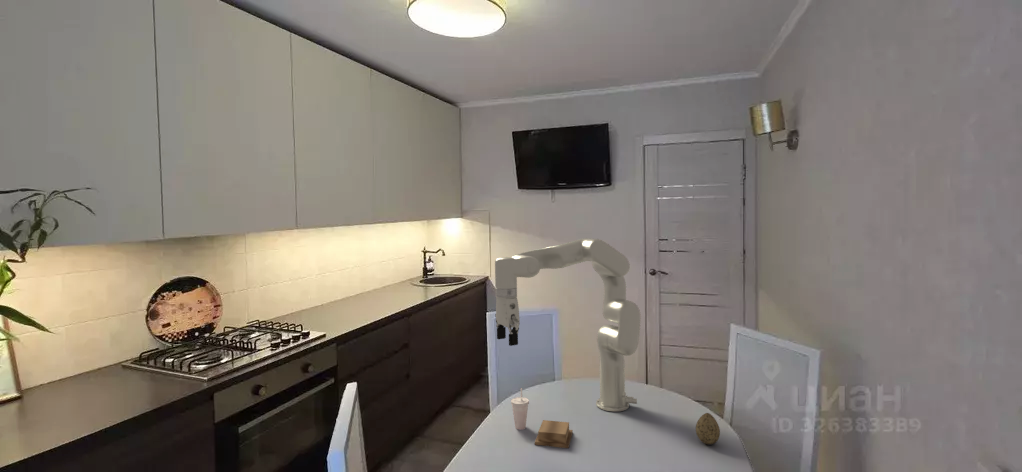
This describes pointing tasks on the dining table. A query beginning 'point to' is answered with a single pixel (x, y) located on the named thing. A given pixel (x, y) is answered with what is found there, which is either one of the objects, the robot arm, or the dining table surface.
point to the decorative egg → (707, 429)
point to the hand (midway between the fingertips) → (507, 341)
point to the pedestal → (554, 434)
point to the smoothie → (520, 411)
